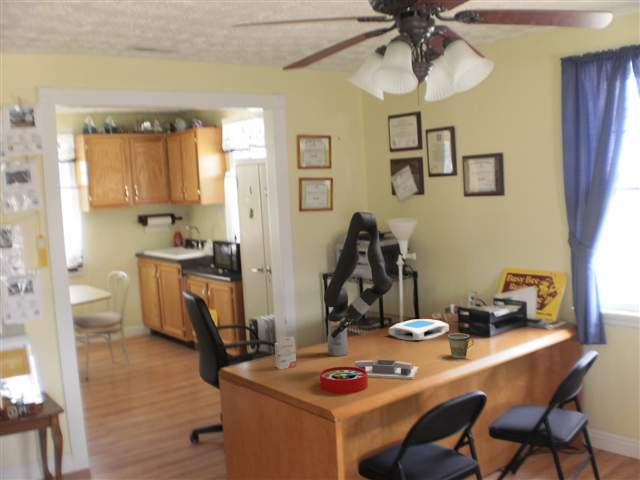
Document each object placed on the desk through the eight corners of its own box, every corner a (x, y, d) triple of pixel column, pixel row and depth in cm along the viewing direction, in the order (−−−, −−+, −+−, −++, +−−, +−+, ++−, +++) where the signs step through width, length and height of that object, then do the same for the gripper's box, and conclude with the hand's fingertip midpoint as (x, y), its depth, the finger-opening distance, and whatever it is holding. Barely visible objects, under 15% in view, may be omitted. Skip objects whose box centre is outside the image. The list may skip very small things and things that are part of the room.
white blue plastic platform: (449, 333, 367) (449, 321, 366) (418, 342, 348) (418, 330, 347) (419, 328, 382) (419, 317, 382) (387, 336, 363) (387, 325, 362)
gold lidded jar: (330, 345, 300) (330, 323, 299) (333, 342, 304) (332, 321, 303) (340, 345, 298) (339, 323, 298) (342, 343, 303) (342, 321, 302)
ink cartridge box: (292, 364, 314) (290, 333, 313) (296, 366, 310) (295, 335, 308) (275, 367, 310) (274, 336, 309) (279, 369, 306) (278, 338, 304)
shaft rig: (351, 376, 291) (351, 363, 291) (360, 366, 306) (359, 354, 306) (412, 379, 283) (412, 366, 283) (418, 368, 298) (418, 356, 298)
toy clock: (318, 367, 286) (364, 365, 287) (318, 381, 287) (364, 378, 288) (321, 381, 266) (370, 378, 267) (321, 395, 267) (370, 392, 268)
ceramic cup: (444, 357, 317) (443, 336, 316) (455, 352, 324) (454, 332, 323) (468, 361, 308) (467, 340, 307) (479, 356, 315) (478, 335, 314)
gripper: (351, 299, 306) (326, 326, 308) (352, 305, 292) (325, 333, 294) (363, 310, 307) (338, 337, 308) (364, 317, 292) (338, 344, 294)
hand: (332, 335), depth 301 cm, fingers closed on gold lidded jar, 4 cm apart
